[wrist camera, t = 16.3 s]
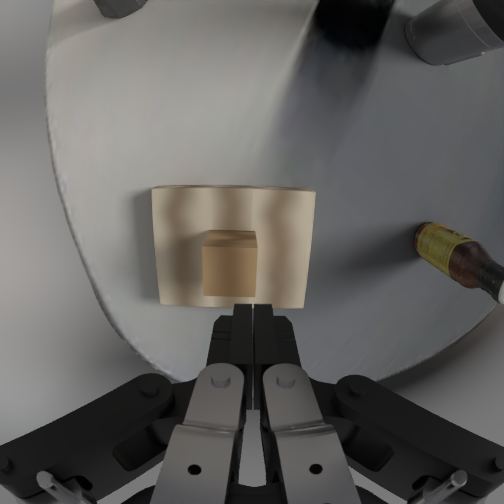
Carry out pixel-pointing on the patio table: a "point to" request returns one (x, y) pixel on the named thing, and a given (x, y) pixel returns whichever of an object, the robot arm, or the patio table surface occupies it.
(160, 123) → the patio table surface
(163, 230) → the birch board
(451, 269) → the sauce bottle
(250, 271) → the oak peg
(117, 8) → the coffeepot
